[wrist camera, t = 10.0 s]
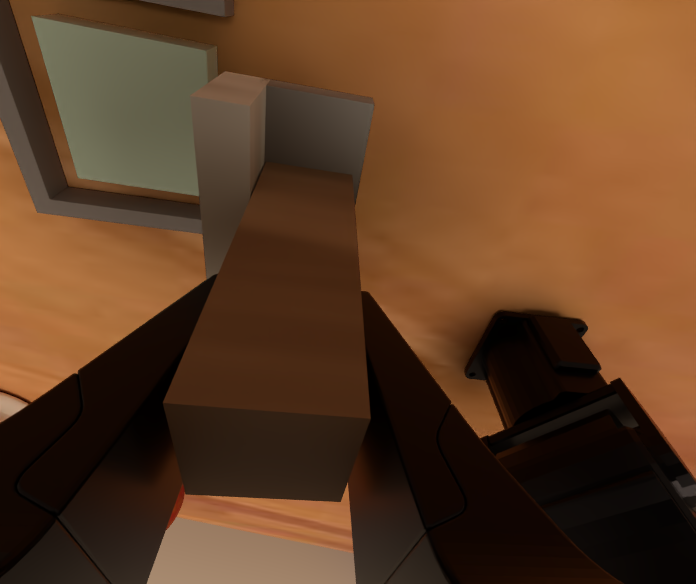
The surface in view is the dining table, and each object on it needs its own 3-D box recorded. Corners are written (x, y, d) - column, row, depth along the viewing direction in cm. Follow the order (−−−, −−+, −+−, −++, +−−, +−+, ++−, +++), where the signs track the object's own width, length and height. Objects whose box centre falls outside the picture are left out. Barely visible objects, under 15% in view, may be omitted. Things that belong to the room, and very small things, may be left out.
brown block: (338, 279, 14) (338, 543, 7) (232, 266, 14) (127, 536, 7) (372, 97, 10) (438, 304, 3) (224, 71, 10) (-34, 251, 3)
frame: (238, 223, 20) (232, 237, 19) (55, 199, 19) (37, 212, 18) (233, -12, 14) (224, -12, 13) (-37, -67, 13) (-75, -74, 12)
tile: (224, 181, 19) (214, 198, 18) (99, 161, 18) (78, 178, 17) (219, 44, 15) (206, 50, 14) (63, 13, 15) (30, 15, 13)
